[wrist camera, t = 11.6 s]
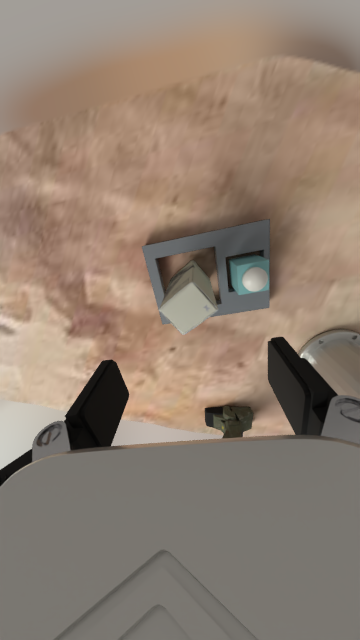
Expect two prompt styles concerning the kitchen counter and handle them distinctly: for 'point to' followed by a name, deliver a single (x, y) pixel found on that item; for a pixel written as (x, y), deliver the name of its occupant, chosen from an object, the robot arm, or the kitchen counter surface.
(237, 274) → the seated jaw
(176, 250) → the frame
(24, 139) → the kitchen counter surface
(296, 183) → the kitchen counter surface
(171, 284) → the box
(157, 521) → the robot arm
